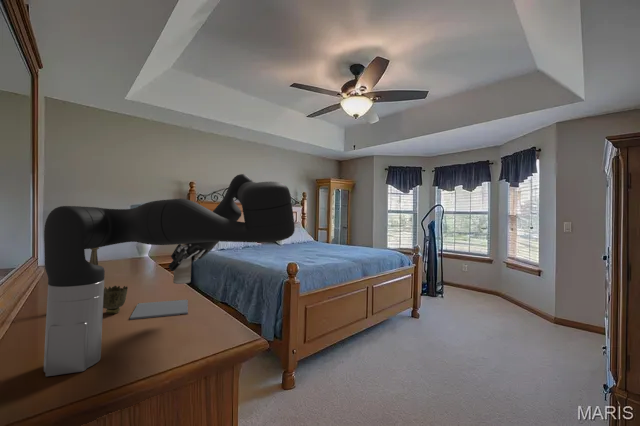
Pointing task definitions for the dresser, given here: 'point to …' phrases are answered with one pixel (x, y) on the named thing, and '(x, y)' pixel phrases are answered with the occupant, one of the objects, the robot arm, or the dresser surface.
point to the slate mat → (160, 309)
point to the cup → (114, 298)
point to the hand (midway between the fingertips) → (177, 267)
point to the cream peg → (183, 272)
